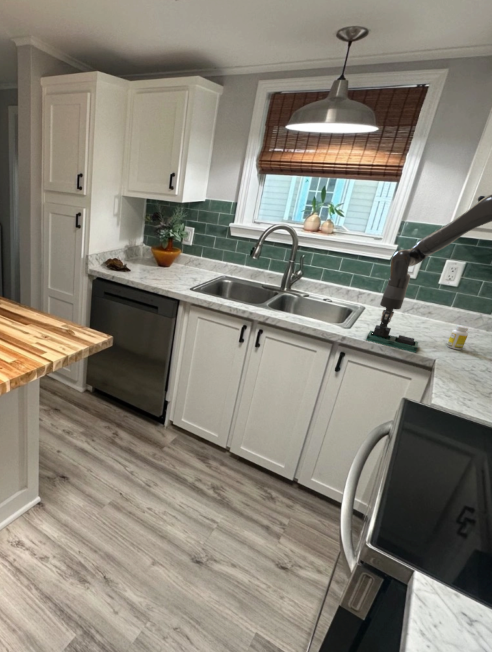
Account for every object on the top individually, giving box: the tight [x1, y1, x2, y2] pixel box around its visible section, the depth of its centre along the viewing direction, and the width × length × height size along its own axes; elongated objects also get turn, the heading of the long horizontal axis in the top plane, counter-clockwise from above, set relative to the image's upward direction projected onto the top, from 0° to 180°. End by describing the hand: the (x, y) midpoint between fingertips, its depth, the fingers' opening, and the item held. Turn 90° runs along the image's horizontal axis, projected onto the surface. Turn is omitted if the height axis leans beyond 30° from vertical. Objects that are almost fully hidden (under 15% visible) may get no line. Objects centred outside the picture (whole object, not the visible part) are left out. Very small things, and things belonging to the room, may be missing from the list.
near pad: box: [397, 334, 415, 346], centre depth 174 cm, size 6×6×3 cm
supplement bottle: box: [446, 324, 469, 351], centre depth 177 cm, size 5×5×10 cm
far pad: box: [373, 324, 392, 338], centre depth 178 cm, size 6×6×3 cm
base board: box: [365, 330, 419, 354], centre depth 177 cm, size 18×12×2 cm, turn 51°
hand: (381, 333), depth 179 cm, fingers closed on far pad, 5 cm apart
